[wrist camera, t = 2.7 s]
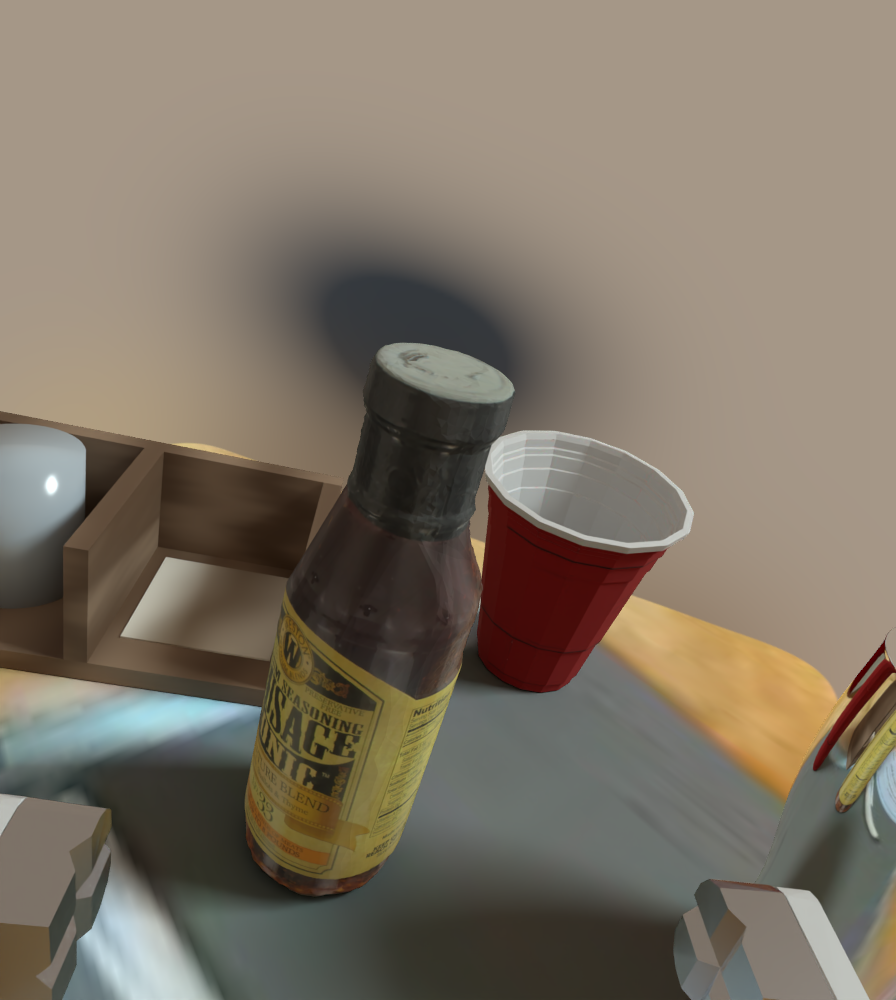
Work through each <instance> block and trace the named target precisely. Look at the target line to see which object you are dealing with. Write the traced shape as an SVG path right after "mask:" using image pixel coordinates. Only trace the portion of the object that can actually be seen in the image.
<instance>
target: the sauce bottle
mask: <svg viewBox="0 0 896 1000" xmlns="http://www.w3.org/2000/svg"><path fill="white" fill-rule="evenodd" d="M514 395H515V390H514V388H513V385H512V383H511V382H510V381H509V380H508V379H507V378H506V376H504V375H503V374H502V373H501V372H499V371H498V370H496V369H495V368H493V367H491V366H489V365H487V364H486V363H484V362H482V361H480V360H477V359H475V358H473V357H471V356H469V355H465V354H462V353H460V352H457V351H451V350H447V349H443V348H440V347H437V346H431V345H425V344H415V343H397V344H391V345H386V346H384V347H382V348H381V349H380V350H379V351H378V352H377V353H376V354H375V356H374V358H373V359H372V362H371V363H370V368H369V373H368V375H367V381H366V384H365V386H364V389H363V397H364V406H365V408H366V411H367V413H366V415H365V417H364V423H363V427H362V429H361V436H360V441H359V445H358V448H357V455H356V459H355V464H354V467H353V470H352V472H351V474H350V476H349V478H348V482H347V485H346V486H345V488H344V490H343V491H342V493H341V494H340V496H339V498H338V499H337V501H336V502H335V504H334V506H333V507H332V509H331V511H330V512H329V514H328V516H327V517H326V519H325V520H324V522H323V524H322V525H321V527H320V529H319V530H318V532H317V534H316V535H315V537H314V538H313V540H312V542H311V543H310V545H309V547H308V548H307V550H306V551H305V553H304V555H303V556H302V558H301V560H300V561H299V563H298V564H297V566H296V568H295V569H294V571H293V573H292V574H291V576H290V577H289V579H288V581H287V583H286V587H285V592H284V597H283V601H282V605H281V612H280V617H279V620H278V626H277V633H276V638H275V643H274V648H273V653H272V657H271V661H270V667H269V674H268V677H267V681H266V690H265V694H264V700H263V704H262V710H261V714H260V720H259V725H258V731H257V736H256V741H255V747H254V752H253V757H252V761H251V767H250V772H249V777H248V783H247V788H246V793H245V813H246V816H245V818H246V840H247V843H248V847H249V848H250V849H251V853H252V857H253V860H254V861H255V862H256V863H257V864H258V865H259V866H260V867H261V869H262V870H263V871H264V872H265V873H267V874H268V875H269V876H270V877H271V878H273V879H274V880H276V881H277V882H278V883H279V884H282V885H284V886H286V887H287V888H289V889H290V890H291V891H294V892H296V893H298V894H300V895H308V896H313V897H316V896H322V895H325V894H338V893H343V892H350V891H352V890H354V889H356V888H360V887H361V886H363V885H364V884H366V883H367V882H368V881H369V880H370V879H371V878H372V877H373V876H374V875H376V874H377V873H378V871H379V870H380V869H381V868H382V866H383V865H384V863H385V862H386V860H387V859H388V857H389V855H390V854H391V853H392V852H393V851H394V849H395V847H396V845H397V843H398V842H399V839H400V837H401V835H402V832H403V829H404V826H405V824H406V821H407V818H408V816H409V813H410V810H411V807H412V804H413V802H414V799H415V796H416V793H417V790H418V787H419V785H420V782H421V779H422V776H423V773H424V770H425V767H426V765H427V762H428V759H429V756H430V754H431V751H432V748H433V745H434V742H435V740H436V737H437V734H438V731H439V728H440V726H441V723H442V720H443V717H444V714H445V712H446V709H447V706H448V703H449V700H450V697H451V694H452V691H453V688H454V685H455V682H456V680H457V677H458V674H459V671H460V668H461V665H462V659H463V650H464V648H465V646H466V642H467V638H468V636H469V633H470V631H471V627H472V625H473V623H474V622H475V616H476V614H477V611H478V608H479V601H480V597H481V593H482V590H483V586H482V580H481V574H480V570H479V566H478V564H477V561H476V556H475V554H474V549H473V547H472V545H471V539H470V530H469V527H470V521H469V520H470V518H471V517H472V515H473V514H474V511H475V510H476V508H475V496H476V493H477V490H478V488H479V485H480V481H481V478H482V474H483V471H484V469H485V465H486V462H487V458H488V455H489V452H490V449H491V445H492V444H493V443H494V442H495V441H496V440H497V439H498V438H499V436H500V435H501V434H502V433H503V431H504V430H505V427H506V424H507V421H508V417H509V414H510V409H511V406H512V402H513V399H514Z"/></svg>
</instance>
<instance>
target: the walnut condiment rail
mask: <svg viewBox="0 0 896 1000" xmlns="http://www.w3.org/2000/svg"><path fill="white" fill-rule="evenodd" d="M0 424H31V425H39V426H45V427H50V428H54V429H58V430H61V431H64V432H66V433H68V434H71V435H73V436H74V437H76V438H77V439H79V440H80V441H81V442H82V443H83V445H84V446H85V449H86V480H85V520H84V522H83V523H82V524H81V525H80V526H79V528H78V529H77V530H76V531H75V532H74V534H73V535H72V536H71V537H70V538H69V540H68V541H67V542H66V543H65V544H64V546H63V598H61V599H59V600H56V601H54V602H51V603H48V604H44V605H40V606H35V607H29V608H17V609H8V608H0V667H4V668H10V669H17V670H24V671H30V672H37V673H43V674H50V675H57V676H63V677H70V678H76V679H83V680H90V681H96V682H103V683H110V684H116V685H123V686H129V687H136V688H143V689H149V690H156V691H163V692H169V693H176V694H182V695H189V696H196V697H202V698H209V699H216V700H222V701H229V702H235V703H242V704H249V705H255V706H262V704H263V700H264V694H265V690H266V681H267V677H268V674H269V667H270V661H271V657H272V653H273V648H274V643H275V638H276V633H277V626H278V620H279V617H280V612H281V605H282V601H283V597H284V592H285V587H286V583H287V581H288V579H289V577H290V576H291V574H292V573H293V571H294V569H295V568H296V566H297V564H298V563H299V561H300V560H301V558H302V556H303V555H304V553H305V551H306V550H307V548H308V547H309V545H310V543H311V542H312V540H313V538H314V537H315V535H316V534H317V532H318V530H319V529H320V527H321V525H322V524H323V522H324V520H325V519H326V517H327V516H328V514H329V512H330V511H331V509H332V507H333V506H334V504H335V502H336V501H337V499H338V498H339V496H340V494H341V489H342V484H343V478H341V477H335V476H331V475H325V474H320V473H314V472H310V471H305V470H300V469H294V468H289V467H284V466H279V465H274V464H269V463H264V462H259V461H253V460H248V459H243V458H238V457H233V456H228V455H223V454H217V453H212V452H207V451H202V450H197V449H192V448H187V447H181V446H176V445H171V444H166V443H161V442H156V441H151V440H145V439H140V438H135V437H130V436H124V435H120V434H114V433H109V432H104V431H99V430H94V429H88V428H84V427H78V426H73V425H68V424H63V423H58V422H53V421H48V420H42V419H37V418H32V417H27V416H22V415H17V414H12V413H6V412H1V411H0Z"/></svg>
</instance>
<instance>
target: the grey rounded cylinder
mask: <svg viewBox="0 0 896 1000" xmlns="http://www.w3.org/2000/svg"><path fill="white" fill-rule="evenodd" d="M85 480H86V449H85V446H84V445H83V443H82V442H81V441H80V440H79V439H77V438H76V437H74V436H73V435H71V434H68V433H66V432H64V431H61V430H58V429H54V428H50V427H45V426H39V425H31V424H0V608H8V609H17V608H29V607H35V606H40V605H44V604H48V603H51V602H54V601H56V600H59V599H61V598H63V546H64V544H65V543H66V542H67V541H68V540H69V538H70V537H71V536H72V535H73V534H74V532H75V531H76V530H77V529H78V528H79V526H80V525H81V524H82V523H83V522H84V520H85Z"/></svg>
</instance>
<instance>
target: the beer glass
mask: <svg viewBox="0 0 896 1000" xmlns="http://www.w3.org/2000/svg"><path fill="white" fill-rule="evenodd" d="M754 884H764V885H771V886H772V887H782V888H791V889H801V890H806V891H810V892H811V893H812V894H813V895H814V896H815V897H816V898H817V899H818V901H819V902H820V904H821V906H822V908H823V910H824V912H825V914H826V916H827V918H828V920H829V922H830V924H831V926H832V928H833V930H834V931H835V933H836V935H837V937H838V939H839V941H840V943H841V945H842V947H843V949H844V951H845V953H846V955H847V957H848V959H849V961H850V963H851V964H852V966H853V968H854V970H855V972H856V974H857V976H858V978H859V980H860V982H861V984H862V986H863V988H864V990H865V992H866V994H867V995H868V997H869V999H870V1000H896V627H895V628H893V629H891V630H890V631H889V632H888V634H887V635H886V638H885V640H884V641H883V643H882V644H881V645H880V647H879V648H878V649H877V651H876V652H875V653H874V655H873V656H872V657H871V658H870V660H869V661H868V662H867V663H866V665H865V666H864V667H863V668H862V670H861V671H860V672H859V673H858V675H857V676H856V677H855V678H854V680H853V681H852V683H851V684H850V685H849V687H848V688H847V689H846V690H845V692H844V693H843V694H842V696H841V697H840V698H839V700H838V701H837V703H836V704H835V706H834V707H833V709H832V710H831V712H830V713H829V715H828V716H827V718H826V719H825V721H824V722H823V723H822V725H821V727H820V729H819V730H818V732H817V734H816V736H815V737H814V739H813V741H812V743H811V745H810V746H809V748H808V750H807V752H806V754H805V755H804V758H803V760H802V762H801V765H800V767H799V770H798V772H797V774H796V777H795V779H794V782H793V784H792V786H791V789H790V792H789V795H788V798H787V801H786V804H785V806H784V809H783V812H782V815H781V818H780V821H779V824H778V827H777V830H776V834H775V837H774V840H773V843H772V846H771V848H770V851H769V854H768V857H767V859H766V862H765V865H764V867H763V869H762V871H761V872H760V874H759V876H758V878H757V880H756V881H755V882H754Z"/></svg>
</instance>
